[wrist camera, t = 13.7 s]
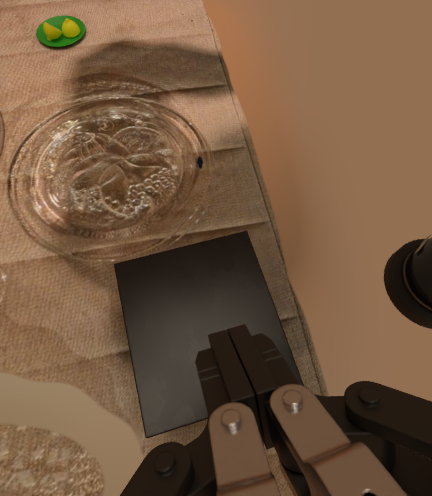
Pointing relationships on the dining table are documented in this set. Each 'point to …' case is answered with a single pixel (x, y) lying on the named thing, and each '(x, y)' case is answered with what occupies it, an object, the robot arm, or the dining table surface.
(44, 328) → the dining table surface
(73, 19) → the green plate with lemons
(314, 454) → the robot arm
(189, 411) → the black square slab
